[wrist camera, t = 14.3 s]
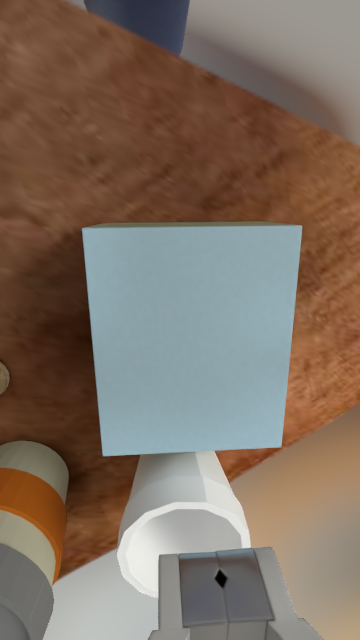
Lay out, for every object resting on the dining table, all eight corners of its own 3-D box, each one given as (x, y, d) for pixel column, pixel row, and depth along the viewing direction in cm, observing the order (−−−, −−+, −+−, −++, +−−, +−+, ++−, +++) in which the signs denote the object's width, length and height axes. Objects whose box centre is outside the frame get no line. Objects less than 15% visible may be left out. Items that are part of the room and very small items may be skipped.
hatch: (277, 440, 27) (281, 447, 27) (104, 449, 27) (102, 456, 26) (297, 224, 22) (302, 225, 22) (84, 227, 22) (81, 228, 21)
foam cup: (128, 471, 37) (114, 601, 25) (132, 396, 34) (118, 501, 22) (214, 473, 38) (242, 600, 26) (224, 400, 35) (261, 503, 23)
